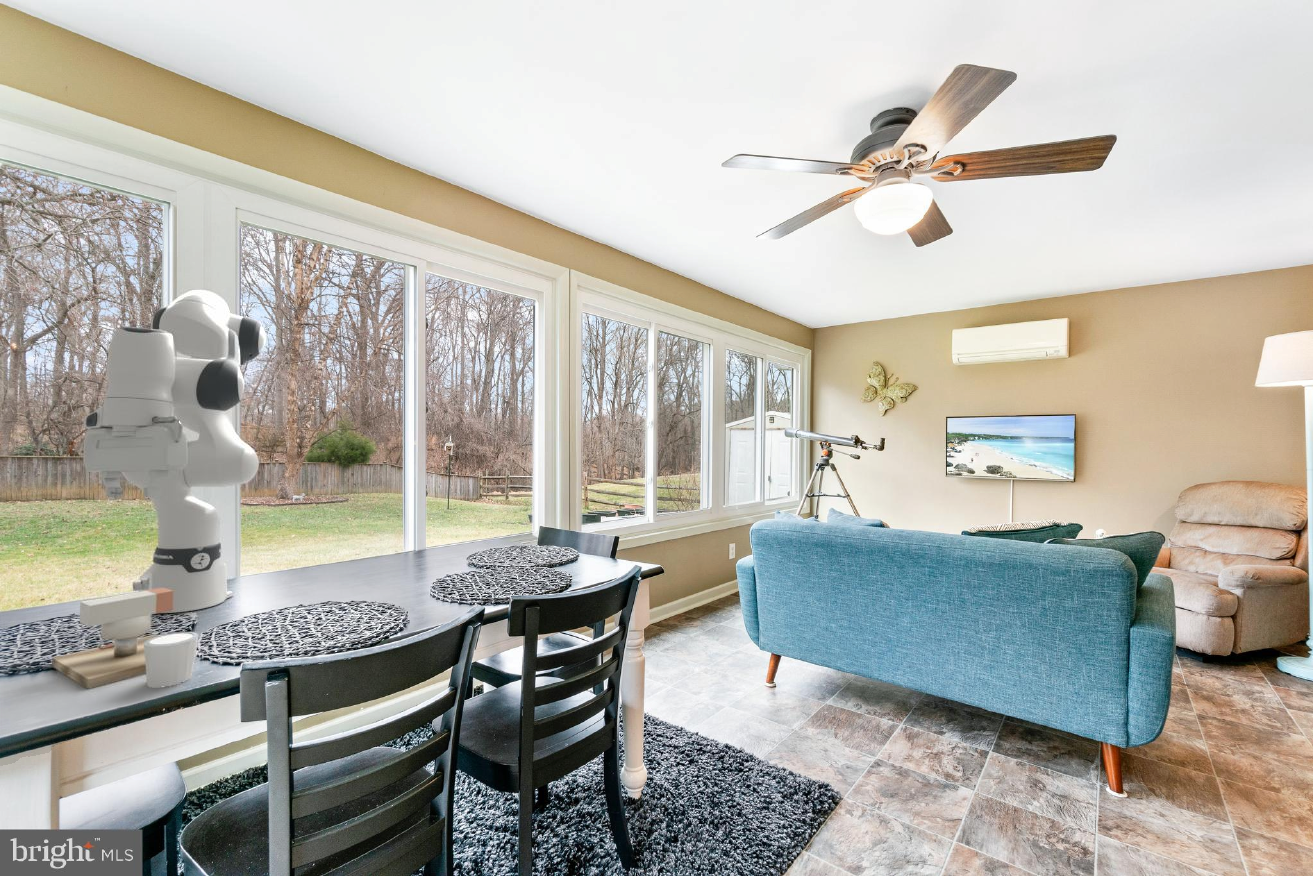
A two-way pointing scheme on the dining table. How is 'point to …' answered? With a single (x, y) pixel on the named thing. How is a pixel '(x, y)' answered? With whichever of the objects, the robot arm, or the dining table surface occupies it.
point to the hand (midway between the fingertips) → (132, 498)
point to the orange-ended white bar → (126, 612)
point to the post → (125, 647)
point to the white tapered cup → (170, 658)
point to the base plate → (101, 664)
